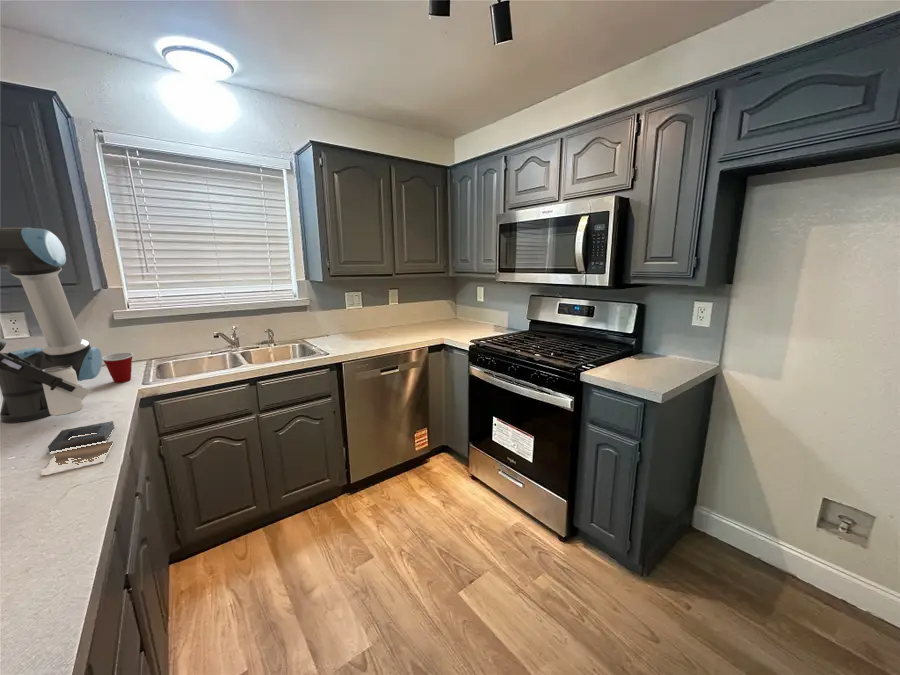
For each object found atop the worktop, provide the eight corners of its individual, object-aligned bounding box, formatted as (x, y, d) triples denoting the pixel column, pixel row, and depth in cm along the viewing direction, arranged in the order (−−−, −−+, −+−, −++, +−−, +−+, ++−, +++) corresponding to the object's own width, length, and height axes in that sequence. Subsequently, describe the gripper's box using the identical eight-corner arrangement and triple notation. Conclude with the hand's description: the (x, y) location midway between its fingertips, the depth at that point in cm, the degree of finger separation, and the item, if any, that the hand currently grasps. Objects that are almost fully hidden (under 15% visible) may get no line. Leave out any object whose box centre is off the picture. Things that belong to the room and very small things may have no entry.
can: (80, 405, 106) (71, 363, 103) (86, 410, 102) (77, 367, 99) (47, 412, 100) (37, 369, 98) (52, 418, 97) (41, 373, 94)
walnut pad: (57, 455, 106) (56, 452, 105) (113, 444, 112) (112, 441, 112) (41, 476, 96) (40, 472, 96) (103, 462, 102) (103, 459, 102)
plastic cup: (107, 386, 162) (101, 359, 159) (105, 381, 170) (100, 355, 167) (139, 380, 170) (134, 355, 167) (136, 375, 177) (131, 350, 174)
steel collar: (63, 437, 116) (61, 430, 116) (114, 428, 122) (112, 421, 122) (50, 454, 106) (47, 446, 106) (106, 443, 113) (104, 435, 112)
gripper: (-49, 354, 90) (61, 398, 107) (-39, 366, 80) (82, 412, 96) (-21, 329, 93) (82, 375, 110) (-7, 337, 83) (104, 386, 100)
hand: (82, 392), depth 103 cm, fingers closed on can, 6 cm apart
